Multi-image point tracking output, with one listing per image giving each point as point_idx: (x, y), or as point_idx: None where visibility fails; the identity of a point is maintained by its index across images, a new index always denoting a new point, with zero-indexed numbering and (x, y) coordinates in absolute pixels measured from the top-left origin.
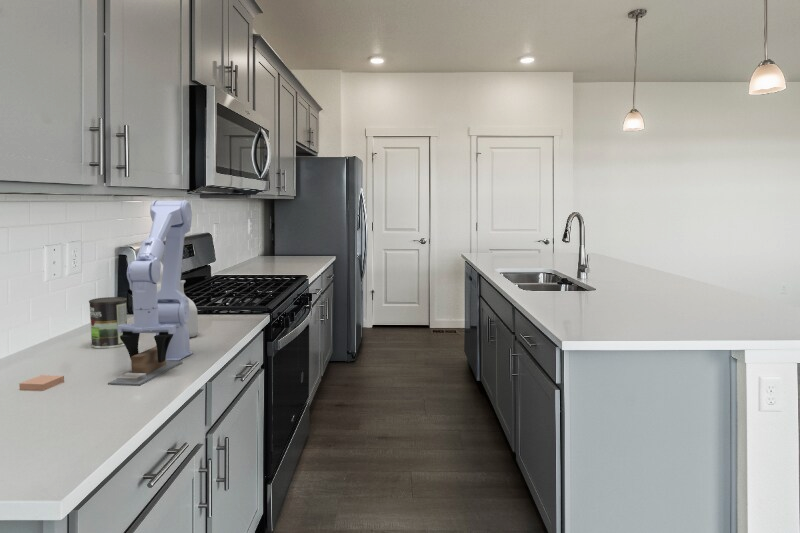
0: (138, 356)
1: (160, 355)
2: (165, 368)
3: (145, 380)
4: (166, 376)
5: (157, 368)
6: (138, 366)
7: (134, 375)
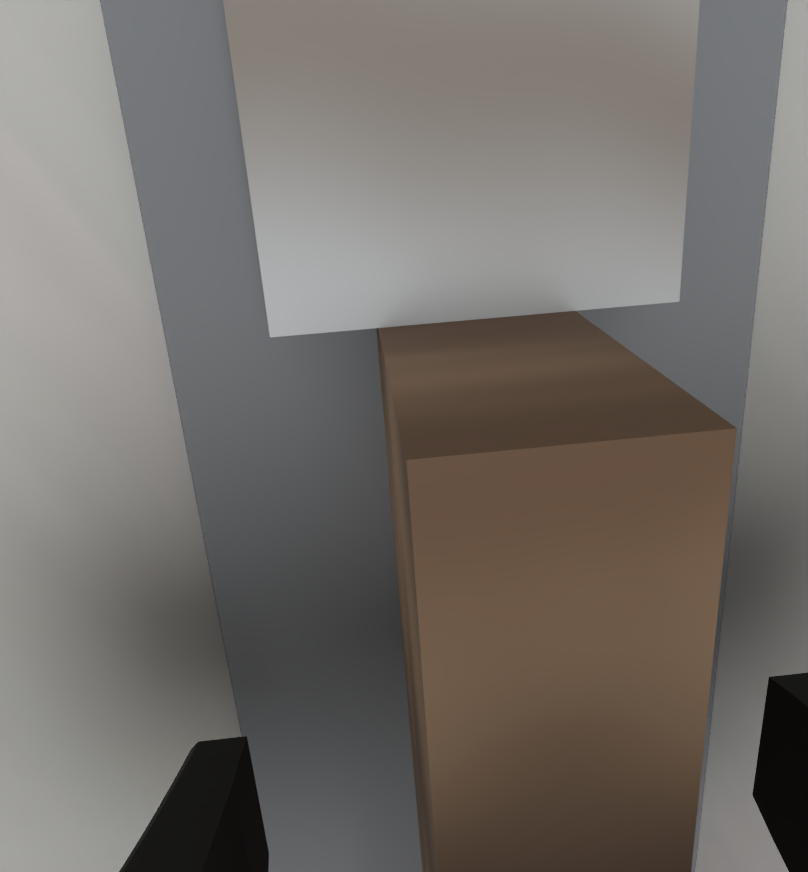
0: (514, 514)
1: (131, 861)
2: (309, 793)
3: (139, 113)
4: (50, 514)
5: (413, 759)
6: (445, 362)
7: (407, 141)
